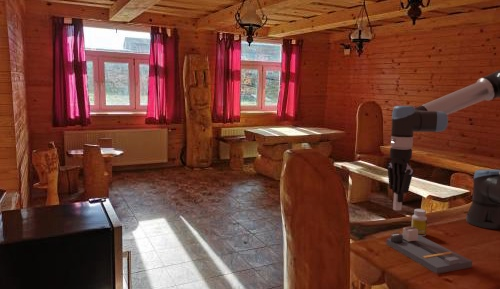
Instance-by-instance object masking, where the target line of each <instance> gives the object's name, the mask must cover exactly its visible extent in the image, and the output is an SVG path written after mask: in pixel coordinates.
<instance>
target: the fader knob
mask: <svg viewBox="0 0 500 289" xmlns="http://www.w3.org/2000/svg"><path fill="white" fill-rule="evenodd" d="M402 233H403V239H405V240H406V241H408V242H409V241H415V240H418V229H416V227H411V226H408V227H403V228H402Z"/></svg>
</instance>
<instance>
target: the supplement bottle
mask: <svg viewBox="0 0 500 289" xmlns="http://www.w3.org/2000/svg"><path fill="white" fill-rule="evenodd" d="M426 211H427V210H425V209H423V208H415V209H414V212H413V213H414V214H412V216H411V226H410V227H416V229H418V235H420V236H422V237H425V236H427V228H428V227H427V225H428V217H427V215H426V214H427V213H426Z"/></svg>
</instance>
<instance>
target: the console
mask: <svg viewBox="0 0 500 289" xmlns="http://www.w3.org/2000/svg"><path fill="white" fill-rule="evenodd" d="M385 245H387V246H389V247H391V248H392V249H394V250H395V251H397V252H398V253H401V255H404V256H406V257H407V258H409V259H411V260H412V261H414V262H416V263H417V264H419V265H421V266H423V267H424V268H426V269H427V270H429V271H431V272H432V273H435V274H443V273H447V272H448V273H449V272H453V271H458V270H465V269H468V268H469V269H470V268H473V267H472V266H473V260H470V259H469V258H467V257H464V256H463V255H461V254H459V253H456V252H454V251H452V250H450V249H448V248H447V247H444V246H442V245H440V244H438V243H437V242H434V241H433V240H430V239H428V238H426V237H425V236H423V237H422V236H420V235H418V240H415V241H409V242H408V241H406V240H405V239H403V232H402V233H398V232H391V234H390V238H386V244H385Z"/></svg>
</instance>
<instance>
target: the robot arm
mask: <svg viewBox="0 0 500 289" xmlns="http://www.w3.org/2000/svg"><path fill="white" fill-rule="evenodd" d="M498 98H500V70H497V71H494V72H492V73H490V74H487V75H485V76H483V77H480V78H479V79H477V80H476V82H474V83H473V84H470V85H467V86H466V87H463V88H460V89H458V90H456V91H453V92H451V93H448V94H446V95H443V96H441V97H439V98H436V99H434V100H431V101H428V102H426V103H424V104H421V105H418V106H416V107H415V106H414V105H394V107H393V109H392V113H391V133H390V149H389V158H390V159H391V160H390V162H389V163H386V164H385V166H386V169H387V176H388V186H389V187H388V188H389V190H392V200H393V201H392V202H393V204H392V205H393V206H392V210H393V211H402V206H403V202H404V194H408V193H409V190H410V186H411V182H412V178H413V175H414V174H415V169H414V168H411V163H410V160H411V159H412V158H413V155H412V154H413V149H412V148H413V143H414V133H417V132H423V133H424V132H426V133H428V132H429V133H438V132H439V133H441V132H444V131H445V130H446V129H447V128H448V125H449V117H448V116H449V115H451V114H454V113H456V112H458V111H461V110H462V109H463V110H464V109H465V108H467V107H470V106H473V105H476V104H478V103H480V102H483V101H486V102H487V101H489V102H490V101H493V100H495V99H498ZM471 198H472V199H471V200H472V201H471V205H470V207H469V209H468V211H467V213H466V216H465V221H466V222H467V223H468V224H470V225H472V226H476V227H478V228H479V227H480V228H482V229H483V228H484V229H490V230H500V169H493V168H492V169H491V168H489V169H488V168H487V169H485V168H484V169H476V170H475V171H474V174H473V186H472V197H471Z"/></svg>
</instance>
